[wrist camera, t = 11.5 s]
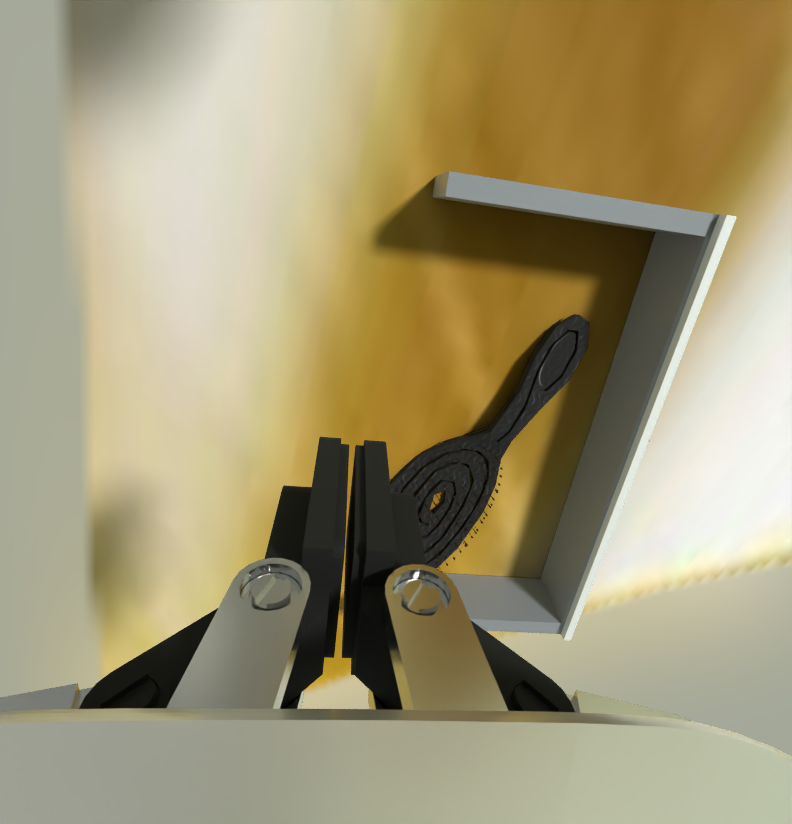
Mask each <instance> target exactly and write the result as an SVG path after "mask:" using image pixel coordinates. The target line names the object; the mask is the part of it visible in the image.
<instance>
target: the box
mask: <svg viewBox="0 0 792 824" xmlns="http://www.w3.org/2000/svg"><path fill="white" fill-rule="evenodd" d="M432 198H439V199H445V200H452V201H458V202H465V203H471V204H478V205H484V206H491V207H497V208H504V209H510V210H517V211H523V212H530V213H536V214H543V215H549V216H556V217H562V218H569V219H575V220H581V221H588V222H594V223H601V224H607V225H614V226H620V227H627V228H633V229H640V230H646V231H653V232H656V233H655V236H654V239H653V242H652V245H651V248H650V251H649V254H648V257H647V260H646V263H645V266H644V269H643V272H642V275H641V278H640V281H639V284H638V287H637V290H636V293H635V296H634V299H633V302H632V305H631V308H630V311H629V314H628V317H627V320H626V323H625V326H624V329H623V332H622V335H621V338H620V341H619V344H618V347H617V350H616V353H615V356H614V359H613V362H612V365H611V368H610V371H609V374H608V377H607V380H606V383H605V386H604V389H603V392H602V395H601V398H600V401H599V404H598V407H597V410H596V413H595V416H594V419H593V422H592V425H591V428H590V431H589V434H588V437H587V440H586V443H585V446H584V449H583V452H582V455H581V458H580V461H579V464H578V467H577V470H576V473H575V476H574V479H573V482H572V485H571V488H570V491H569V494H568V497H567V500H566V503H565V506H564V509H563V512H562V515H561V518H560V521H559V524H558V527H557V530H556V533H555V536H554V539H553V542H552V545H551V548H550V551H549V554H548V557H547V560H546V563H545V566H544V569H543V572H542V575H541V578H540V579H535V578H518V577H500V576H483V575H466V574H449V573H444V574H446V575H447V576H448V577H449V578H450V579H451V580H452V581H453V583H454V585H455V586H456V588H457V590H458V592H459V595H460V597H461V599H462V602H463V604H464V606H465V609H466V611H467V614H468V616H469V618H470V620H471V621H473V622H474V623H475V624H477V625H478V626H479V627H481V628H482V629H484V630H485V631H505V632H528V633H551V634H561V635H562V638H563V639H564V640H571V638H572V636H573V633H574V630H575V628H576V625H577V623H578V620H579V618H580V615H581V613H582V610H583V608H584V605H585V602H586V600H587V597H588V595H589V592H590V590H591V587H592V585H593V582H594V579H595V577H596V574H597V572H598V569H599V567H600V564H601V562H602V559H603V557H604V554H605V551H606V549H607V546H608V544H609V541H610V539H611V536H612V534H613V531H614V528H615V526H616V523H617V521H618V518H619V516H620V513H621V511H622V508H623V506H624V503H625V500H626V498H627V495H628V493H629V490H630V488H631V485H632V483H633V480H634V477H635V475H636V472H637V470H638V467H639V465H640V462H641V460H642V457H643V455H644V452H645V449H646V447H647V444H648V442H649V439H650V437H651V434H652V432H653V429H654V427H655V424H656V421H657V419H658V416H659V414H660V411H661V409H662V406H663V404H664V401H665V398H666V396H667V393H668V391H669V388H670V386H671V383H672V381H673V378H674V376H675V373H676V370H677V368H678V365H679V363H680V360H681V358H682V355H683V353H684V350H685V347H686V345H687V342H688V340H689V337H690V335H691V332H692V330H693V327H694V325H695V322H696V319H697V317H698V314H699V312H700V309H701V307H702V304H703V302H704V299H705V297H706V294H707V291H708V289H709V286H710V284H711V281H712V279H713V276H714V274H715V271H716V268H717V266H718V263H719V261H720V258H721V256H722V253H723V251H724V248H725V246H726V243H727V240H728V238H729V235H730V233H731V230H732V228H733V225H734V223H735V220H736V216H729V215H717V214H711V213H705V212H698V211H692V210H686V209H680V208H674V207H667V206H661V205H655V204H649V203H643V202H637V201H630V200H624V199H618V198H612V197H606V196H599V195H593V194H587V193H581V192H575V191H568V190H562V189H556V188H550V187H544V186H537V185H531V184H525V183H519V182H513V181H507V180H500V179H494V178H488V177H482V176H476V175H469V174H463V173H457V172H451V171H449V172H446V173H443V174H441V175H438V176H435V183H434V189H433V196H432Z"/></svg>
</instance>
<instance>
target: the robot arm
mask: <svg viewBox="0 0 792 824" xmlns="http://www.w3.org/2000/svg"><path fill="white" fill-rule="evenodd" d="M348 460H349V445H347V444H341V438H328V437H320V439H319V445H318V451H317V458H316V464H315V471H314V477H313V483H312V487H297V486H283V489H282V492H281V496H280V500H279V504H278V508H277V512H276V516H275V520H274V524H273V528H272V532H271V536H270V540H269V544H268V548H267V552H266V556H265V559H262V560H259V561H256V562H254V563H251V564H249V565H248V566H246V567H245V568H244V569H242V570H241V571H240V572H239V573H238V574H237V576H236V577H235V578H234V580H233V581H232V583H231V585H230V587H229V589H228V591H227V593H226V595H225V597H224V599H223V600H222V602H221V604H220V606H219V608H217V609H216V610H214V611H212V612H211V613H209V614H207V615H206V616H204V617H202V618H201V619H199V620H197V621H196V622H194V623H192V624H191V625H189V626H187V627H186V628H184V629H182V630H181V631H179V632H177V633H176V634H174V635H172V636H171V637H169V638H168V639H166V640H164V641H163V642H161V643H159V644H158V645H156V646H154V647H153V648H151V649H149V650H148V651H146V652H144V653H143V654H141V655H139V656H138V657H136V658H134V659H133V660H131V661H129V662H128V663H126V664H124V665H123V666H121V667H119V668H118V669H116V670H114V671H113V672H111V673H110V674H108V675H107V676H106V677H104V678H103V679H102V680H100V681H99V682H98V683H97V684H96V685H95V686H94V687H93V688H87V689H82V690H79V687H78V684H72V685H66V686H61V687H56V688H50V689H45V690H40V691H34V692H29V693H24V694H18V695H13V696H8V697H2V698H0V824H792V756H790V755H788V754H786V753H784V752H782V751H780V750H778V749H776V748H774V747H772V746H769V745H766V744H764V743H761V742H759V741H756V740H753V739H751V738H748V737H745V736H743V735H740V734H737V733H735V732H732V731H728V730H724V729H721V728H717V727H713V726H710V725H706V724H702V723H697V722H692V721H690V720H688V719H686V718H683V717H681V716H678V715H676V714H672V713H668V712H664V711H659V710H655V709H652V708H648V707H643V706H639V705H635V704H631V703H627V702H623V701H619V700H615V699H611V698H606V697H602V696H598V695H594V694H590V693H586V692H582V691H578V690H576V692H575V694H574V696H572V695H567V694H565V693H564V691H563V690H562V689H561V688H560V687H559V686H558V685H557V684H556V683H555V682H554V681H553V680H551V679H550V678H549V677H547V676H546V675H545V674H543V673H542V672H541V671H539V670H538V669H537V668H535V667H534V666H532V665H531V664H530V663H528V662H527V661H526V660H524V659H523V658H522V657H520V656H519V655H518V654H516V653H515V652H513V651H512V650H511V649H509V648H508V647H507V646H505V645H504V644H502V643H501V642H500V641H498V640H497V639H496V638H494V637H493V636H492V635H490V634H489V633H488V632H486V631H485V630H484V629H482V628H481V627H479V626H478V625H477V624H475V623H474V622H473V621H471V620H470V618H469V616H468V614H467V611H466V609H465V606H464V604H463V602H462V599H461V597H460V595H459V592H458V590H457V588H456V586H455V585H454V583H453V581H452V580H451V579H450V578H449V577H448V576H447V575H446V574H444V573H443V572H441V571H439V570H438V569H436V568H434V567H430V566H426V562H425V556H424V550H423V544H422V538H421V532H420V527H419V521H418V515H417V509H416V503H415V498H414V495H413V494H410V493H393V492H391V490H390V479H389V469H388V459H387V449H386V442H382V441H368V440H365V441H364V446H360V445H356V447H355V457H354V466H353V476H352V486H351V496H350V506H349V516H348V526H347V538H346V562H345V588H344V615H343V641H342V658H351V675H355V676H356V677H357V678H358V679H359V680H360V681H361V682H362V683H364V684H365V686H367V687H368V688H369V691H368V696H369V697H368V702H369V707H370V709H301V706H302V703H303V696H304V690H305V689H306V688H307V687H308V686H309V685H310V684H312V683H313V682H314V681H315V680H316V679H317V678H319V677H320V676H321V675H322V674H323V663H324V657H332V658H334V652H335V642H336V632H337V622H338V612H339V602H340V593H341V583H342V573H343V563H344V551H345V533H346V509H347V484H348Z"/></svg>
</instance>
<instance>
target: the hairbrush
mask: <svg viewBox="0 0 792 824" xmlns="http://www.w3.org/2000/svg"><path fill="white" fill-rule="evenodd" d="M560 321H561V320H559V321H558V322H556V323H555V324H553V325H552V326H551V327H550V329H549V330H548V331H547V333H546V334H545V336H544V337H543V339H542V340H541V342H540V343H539V344H538V346H537V347H536V349H535V350H534V352H533V353H532V355H531V357H530V360H529V362H528V364H527V366H526V368H525V371H524V373H523V375H522V377H521V379H520V382H519V384H518V386H517V388H516V390H515V392H514V393H513V395H512V396H511V397H510V399H509V400H508V402H507V403H506V404H505V406H504V407H503V409H502V410H501V411H500V413H499V414H498V416H497V417H496V418H495V420H494V421H493V423H492V424H491V425H490V426H489V427H487V428H484V429H481V430H478V431H476V432H473V433H470V434H467V435H464V436H461V437H457V438H453V439H450V440H446V441H447V442H445V441H443V442H445V443H442V444H440V445H437V444H436V445H437V446H435V445H434V447H431V448H429V449H427V450H425V451H423V452H422V453H421V454H419V455H418V456H417V457H416V458H414V459H413V460H412V461H410V462H409V463H408V464H407V465H405V466H404V467H403V468H402V469H401V470H400V471H399V472H398V474H397V475H396V476H395V477H394V479H393V480H391V482H390V490H391V492H393V493H410V494H414V498H415V503H416V509H417V515H418V509H419V507H420V510H419V512H420V513H419V515H420V516H419V515H418V521H419V527H420V532H421V538H422V544H423V550H424V556H425V562H426V566H430V567H434V568H437V567H439V566H440V565H441V564H442V563H443V562H444V561H445V560H446V559H447V558H448V557H449V556H450V555H451V554H452V553H453V552H454V551H455V550H456V549H457V548H458V547H459V545H460V544H461V543H462V541H463V540H464V538H465V537H466V536H467V534H468V533H469V531H470V530H471V528H472V527H473V526H474V524H475V523H476V521H477V520H478V519H479V517H480V516H481V514H482V513H483V511H484V509H485V507H486V505H487V504H488V500H489V498H490V496H491V494H492V492H493V489H494V487H495V485H496V480H497V476H498V471H499V466H500V463H501V462H500V461H501V458H502V456H503V455H504V453H505V451H506V450H507V448H508V446H509V445H510V443H511V441H512V440H513V439H514V438H515V437H516V436H517V435H518V434H519V432H520V431H521V430H522V429H523V428H524V427H525V426H526V425H527V424H528V422H529V421H530V420H531V419H532V418H533V417H534V416H535V415H536V414H537V412H538V411H539V410H540V409H541V408H542V407H543V406H544V405H545V404H546V403H547V402H548V401H549V400H550V399H551V398H552V397H553V396H554V395H555V394H556V393H557V392H558V391H559V390H560V389H561V388H562V387H563V386H564V385H565V384H566V383H567V382H568V381H569V380H570V378H571V377H572V375H573V373H574V371H575V369H576V368H577V366H578V364H579V362H580V360H581V358H582V357H583V355H584V353H585V351H586V349H587V343H588V329H589V323H588V322H587V321H586V320H585V319H584V318H582V317H581V316H580V315H575V314H574V315H571V316H570V317H568V318H567V319H565V320H564V321H562V322H561V323H559V322H560ZM558 323H559V324H558ZM557 324H558V325H557ZM568 329H569V330H574V331H575V333H573V332H566V331H567V330H568ZM575 340H576V343H575ZM440 443H441V442H440ZM438 444H439V443H438ZM479 451H480V452H481V453H482V454H483V455H484V456H485V458H486V460H487V468H488V473H487V468H486V464H485V461H484V458H483V457H482V455H481V453H480V452H479ZM463 463H464V464H469V466H470V469H471V477H472V484H471V486H470V471H469V468H468V467H467V466H466V465H464V464H463ZM424 464H425V465H424ZM423 465H424V466H423ZM422 466H423V467H422ZM421 467H422V468H421ZM500 469H502V467H501V468H500ZM502 470H503V469H502ZM486 473H487V474H486ZM500 477H502V476H501V475H500ZM485 478H486V479H485ZM450 481H453V482H454V483H455V486H456V487H455V492H454V489H453V484H452V483H451V482H450ZM484 481H485V482H484ZM405 484H406V485H405ZM404 485H405V486H404ZM498 485H499V486H500V484H499V483H498ZM403 486H404V487H403ZM432 486H433V487H432ZM402 488H403V489H402ZM416 490H417V491H416ZM444 490H446V491H445V493H444V496H443V497H441V499H442V501H441V500H440V499H439V498H438V499H439V501H441V504H440V505H438V506H437V507H436V508H435V509H433V511H430V507H431V504H432V501H433V497H434V495H435V494H437V493H440V492H442V491H444ZM495 491H496V493H498V490H495ZM414 492H415V493H414ZM467 493H468V494H467ZM480 493H481V494H480ZM453 494H454V496H453ZM466 495H467V496H466ZM479 495H480V496H479ZM436 496H437V495H436ZM440 496H441V495H440ZM452 497H453V499H452ZM465 497H466V498H465ZM478 497H479V498H478ZM491 497H492V496H491ZM464 499H465V500H464ZM492 499H493V500H494V498H493V497H492ZM451 500H452V501H451ZM463 500H464V502H463ZM476 501H477V502H476ZM433 502H434V501H433ZM450 502H451V503H450ZM462 502H463V503H462ZM475 503H476V504H475ZM434 504H435V503H434ZM461 504H462V505H461ZM474 505H475V506H474ZM435 506H436V504H435ZM491 506H492V504H491ZM491 506H489V507H490V508H491ZM484 513H485V512H484ZM485 514H486V513H485ZM486 516H487V514H486ZM420 518H421V519H420ZM483 519H485V518H483ZM480 521H481V520H480ZM481 523H483V522H482V521H481ZM475 528H476V527H475ZM473 530H474V529H473ZM474 531H475V530H474ZM477 531H478V529H477ZM475 533H476V532H475ZM469 534H470V533H469ZM471 538H473V537H472V536H471ZM464 542H465V541H464ZM464 542H463V543H464ZM465 544H466V545H465V547H466V546H468V545H467V543H466V542H465ZM458 549H459V548H458ZM460 553H461V551H460ZM453 559H454V560H455V558H454V557H453ZM446 565H447V566H448V564H447V563H446ZM438 570H439V569H438ZM441 572H442V571H441Z"/></svg>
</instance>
